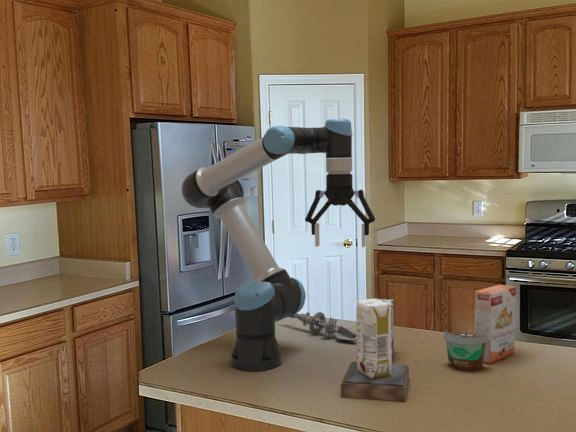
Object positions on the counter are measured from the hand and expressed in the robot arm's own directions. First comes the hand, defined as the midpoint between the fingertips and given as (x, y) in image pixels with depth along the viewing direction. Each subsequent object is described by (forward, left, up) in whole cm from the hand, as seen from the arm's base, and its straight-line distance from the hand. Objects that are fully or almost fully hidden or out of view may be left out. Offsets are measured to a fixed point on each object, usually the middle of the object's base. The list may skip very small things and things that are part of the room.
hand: (340, 246), depth 177 cm
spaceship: (-13, +27, -35) cm, 46 cm away
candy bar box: (+12, +8, -35) cm, 38 cm away
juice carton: (+12, -18, -31) cm, 38 cm away
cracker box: (+44, +13, -35) cm, 58 cm away
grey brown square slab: (+12, -18, -35) cm, 41 cm away
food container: (+35, +1, -35) cm, 49 cm away
